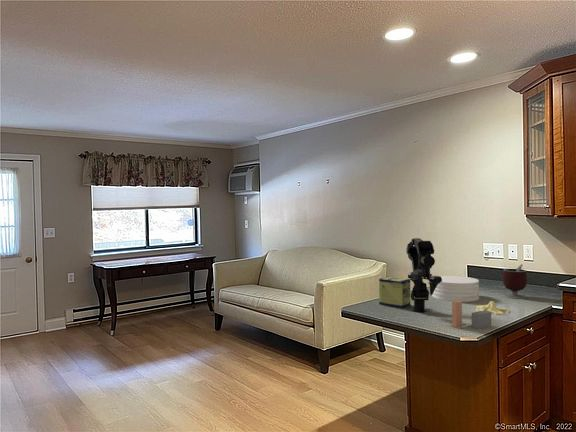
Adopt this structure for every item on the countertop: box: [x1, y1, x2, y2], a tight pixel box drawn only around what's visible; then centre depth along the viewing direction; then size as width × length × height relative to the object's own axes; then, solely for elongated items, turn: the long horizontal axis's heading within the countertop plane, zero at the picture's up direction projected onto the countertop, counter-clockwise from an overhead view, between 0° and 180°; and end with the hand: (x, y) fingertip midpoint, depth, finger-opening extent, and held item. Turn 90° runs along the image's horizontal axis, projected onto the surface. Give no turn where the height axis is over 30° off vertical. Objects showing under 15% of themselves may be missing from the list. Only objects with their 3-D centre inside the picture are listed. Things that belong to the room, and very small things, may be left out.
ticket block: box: [457, 310, 492, 330], centre depth 210 cm, size 6×17×7 cm, turn 120°
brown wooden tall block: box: [451, 301, 463, 328], centre depth 211 cm, size 2×4×12 cm, turn 120°
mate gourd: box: [502, 264, 528, 300], centre depth 278 cm, size 16×14×20 cm
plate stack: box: [431, 275, 480, 303], centre depth 280 cm, size 28×28×12 cm
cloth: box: [475, 300, 510, 316], centre depth 242 cm, size 22×19×6 cm
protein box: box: [378, 276, 411, 309], centre depth 260 cm, size 10×16×16 cm
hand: (424, 293), depth 232 cm, fingers open, 9 cm apart
